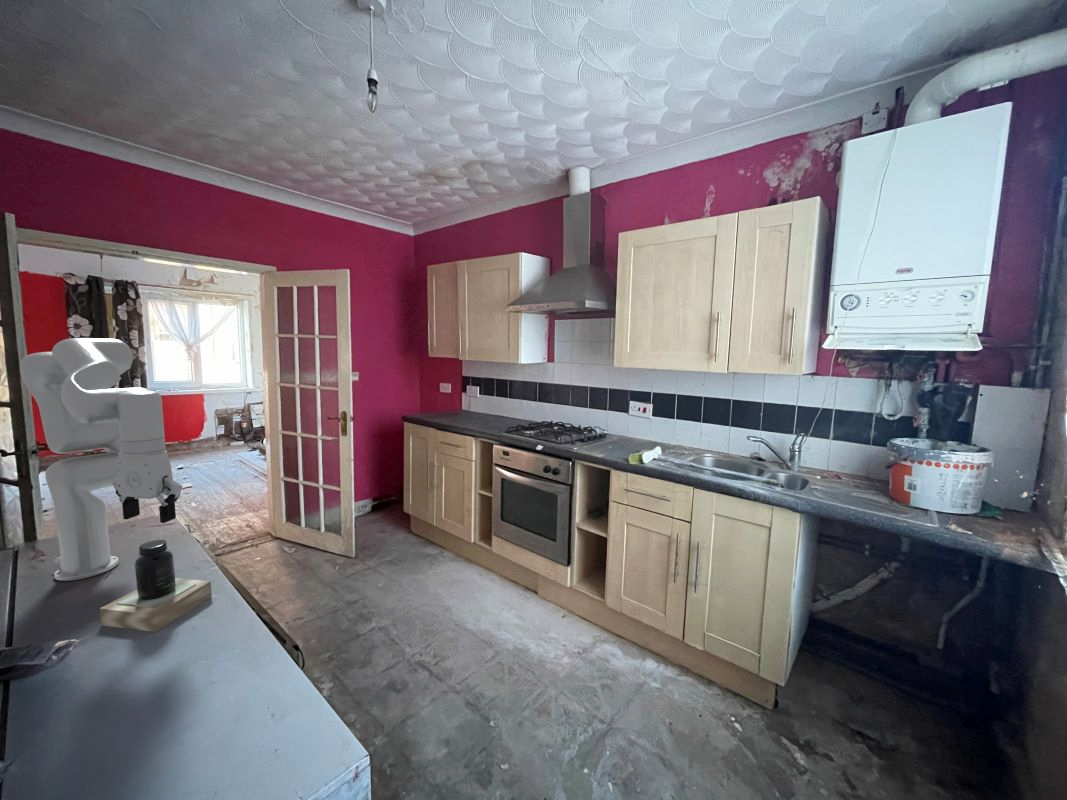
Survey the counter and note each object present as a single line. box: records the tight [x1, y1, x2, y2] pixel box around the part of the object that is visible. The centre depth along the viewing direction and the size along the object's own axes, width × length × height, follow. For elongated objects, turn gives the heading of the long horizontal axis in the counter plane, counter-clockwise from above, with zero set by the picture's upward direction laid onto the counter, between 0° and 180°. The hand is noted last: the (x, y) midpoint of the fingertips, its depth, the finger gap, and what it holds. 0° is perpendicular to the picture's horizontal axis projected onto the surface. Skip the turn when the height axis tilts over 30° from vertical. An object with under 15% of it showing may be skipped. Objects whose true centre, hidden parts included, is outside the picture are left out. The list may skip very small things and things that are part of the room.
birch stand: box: [99, 577, 213, 633], centre depth 104 cm, size 14×14×4 cm
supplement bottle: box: [134, 539, 176, 600], centre depth 103 cm, size 7×7×12 cm
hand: (150, 518), depth 102 cm, fingers open, 9 cm apart
